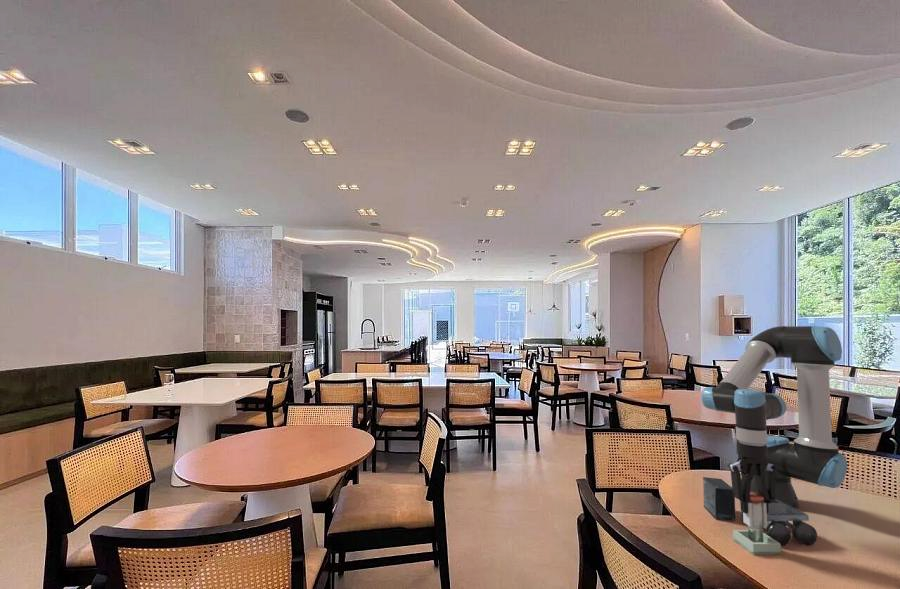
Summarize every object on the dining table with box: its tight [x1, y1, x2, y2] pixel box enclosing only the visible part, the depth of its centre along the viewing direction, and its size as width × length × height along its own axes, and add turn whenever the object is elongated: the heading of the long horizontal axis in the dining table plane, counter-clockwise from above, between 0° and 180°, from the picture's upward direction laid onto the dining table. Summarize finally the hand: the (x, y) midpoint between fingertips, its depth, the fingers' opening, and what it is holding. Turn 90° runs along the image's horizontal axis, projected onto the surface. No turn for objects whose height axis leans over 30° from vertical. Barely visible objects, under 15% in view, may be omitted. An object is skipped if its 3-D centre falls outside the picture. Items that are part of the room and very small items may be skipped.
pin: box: [747, 491, 764, 543], centre depth 121 cm, size 5×5×14 cm
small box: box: [702, 476, 737, 522], centre depth 143 cm, size 11×6×10 cm, turn 168°
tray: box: [732, 529, 782, 556], centre depth 121 cm, size 8×8×3 cm
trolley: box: [740, 499, 818, 547], centre depth 128 cm, size 14×12×11 cm
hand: (755, 524), depth 121 cm, fingers closed on pin, 4 cm apart
